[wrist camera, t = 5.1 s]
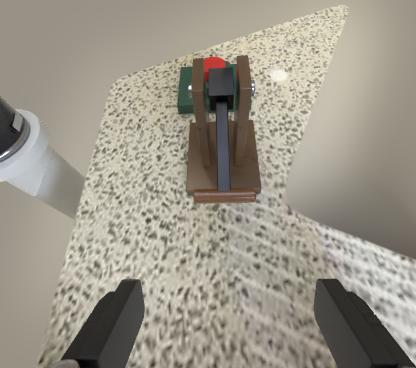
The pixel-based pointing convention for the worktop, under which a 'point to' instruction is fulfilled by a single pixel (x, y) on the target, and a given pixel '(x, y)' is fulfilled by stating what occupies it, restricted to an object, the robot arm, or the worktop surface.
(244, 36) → the worktop surface
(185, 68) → the button box
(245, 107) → the bracket
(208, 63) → the button
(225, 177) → the lever
